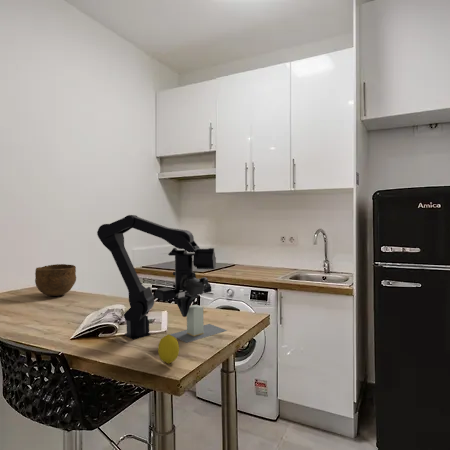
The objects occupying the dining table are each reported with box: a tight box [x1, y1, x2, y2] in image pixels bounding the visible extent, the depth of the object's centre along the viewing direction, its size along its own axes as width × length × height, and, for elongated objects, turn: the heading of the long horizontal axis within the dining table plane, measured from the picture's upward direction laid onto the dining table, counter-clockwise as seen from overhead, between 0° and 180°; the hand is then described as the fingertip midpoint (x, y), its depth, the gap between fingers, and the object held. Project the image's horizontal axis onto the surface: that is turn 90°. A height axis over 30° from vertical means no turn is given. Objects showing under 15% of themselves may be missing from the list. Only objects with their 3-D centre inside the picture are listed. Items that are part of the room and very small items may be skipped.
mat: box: [169, 323, 228, 344], centre depth 117 cm, size 17×10×1 cm, turn 131°
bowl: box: [34, 263, 77, 297], centre depth 175 cm, size 19×19×15 cm
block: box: [186, 304, 205, 336], centre depth 116 cm, size 4×4×9 cm
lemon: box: [157, 333, 180, 365], centre depth 93 cm, size 6×6×8 cm
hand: (184, 316), depth 113 cm, fingers closed
